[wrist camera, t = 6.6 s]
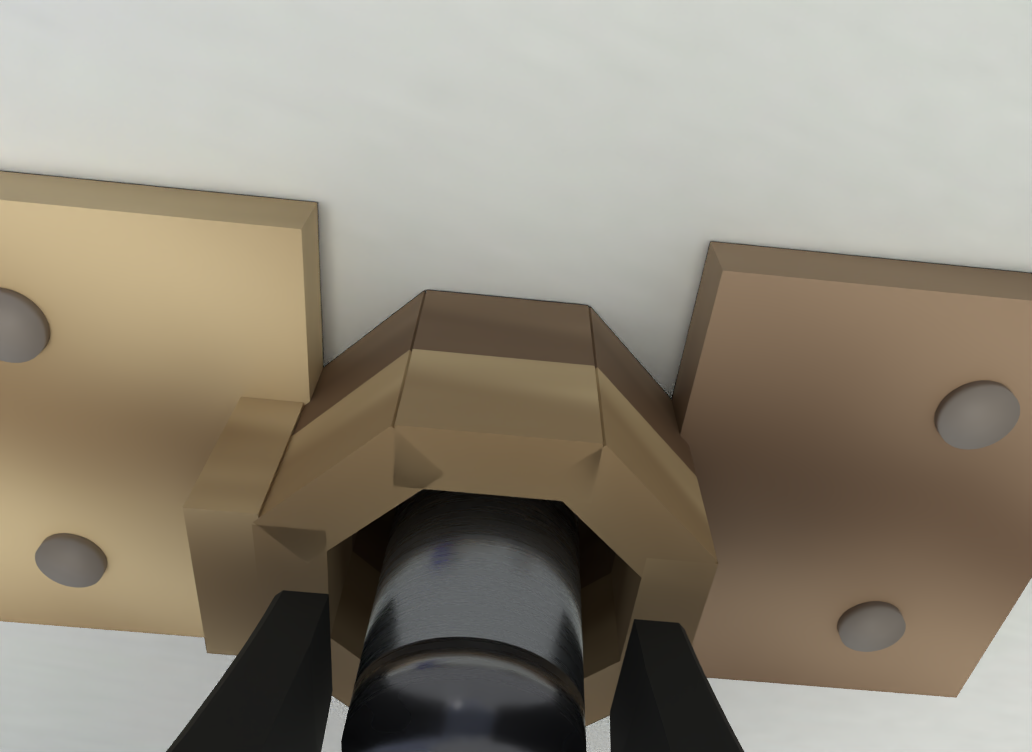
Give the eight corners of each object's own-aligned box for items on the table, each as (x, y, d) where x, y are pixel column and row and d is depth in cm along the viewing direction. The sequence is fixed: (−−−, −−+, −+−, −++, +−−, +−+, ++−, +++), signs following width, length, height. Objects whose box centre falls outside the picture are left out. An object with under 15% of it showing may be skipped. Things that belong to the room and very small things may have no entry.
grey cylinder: (568, 517, 16) (576, 830, 11) (414, 508, 16) (350, 816, 11) (582, 388, 14) (597, 687, 9) (409, 378, 14) (331, 672, 9)
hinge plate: (936, 656, 18) (973, 732, 16) (322, 606, 17) (302, 680, 16) (1152, 285, 13) (1234, 345, 11) (303, 201, 12) (271, 251, 11)
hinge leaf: (624, 631, 18) (642, 796, 15) (-8, 579, 17) (-123, 739, 14) (723, 242, 13) (781, 370, 10) (-160, 155, 12) (-388, 260, 9)
